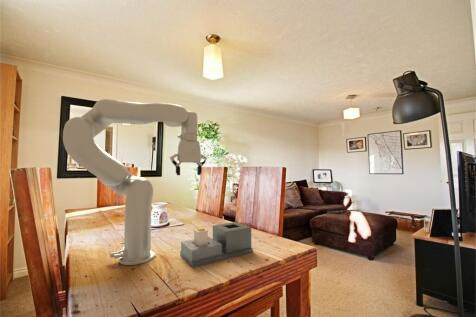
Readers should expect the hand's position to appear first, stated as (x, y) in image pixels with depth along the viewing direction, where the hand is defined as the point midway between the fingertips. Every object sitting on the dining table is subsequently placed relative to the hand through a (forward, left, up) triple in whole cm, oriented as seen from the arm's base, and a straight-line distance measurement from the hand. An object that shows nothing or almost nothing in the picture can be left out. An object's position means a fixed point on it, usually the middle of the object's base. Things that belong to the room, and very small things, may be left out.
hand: (188, 175), depth 101 cm
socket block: (+6, -16, -32) cm, 36 cm away
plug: (-1, -16, -31) cm, 34 cm away
